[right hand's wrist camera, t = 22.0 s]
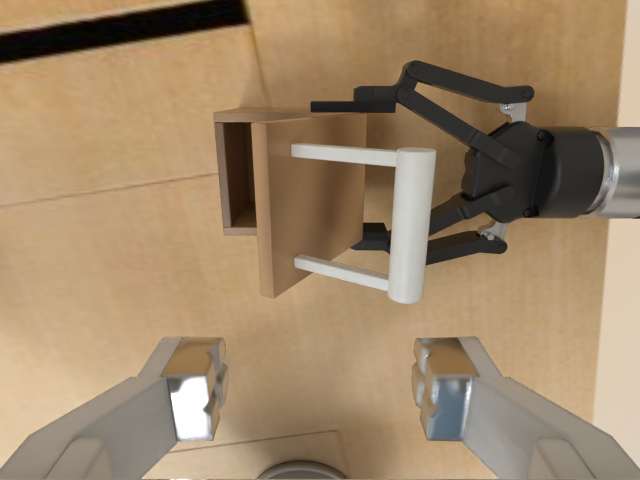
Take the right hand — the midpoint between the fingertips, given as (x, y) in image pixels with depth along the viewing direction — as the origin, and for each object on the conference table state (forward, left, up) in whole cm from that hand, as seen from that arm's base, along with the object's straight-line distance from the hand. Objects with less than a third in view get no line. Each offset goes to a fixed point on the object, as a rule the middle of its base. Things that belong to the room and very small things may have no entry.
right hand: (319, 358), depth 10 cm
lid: (-1, -1, -18) cm, 18 cm away
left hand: (-1, -1, -25) cm, 25 cm away
